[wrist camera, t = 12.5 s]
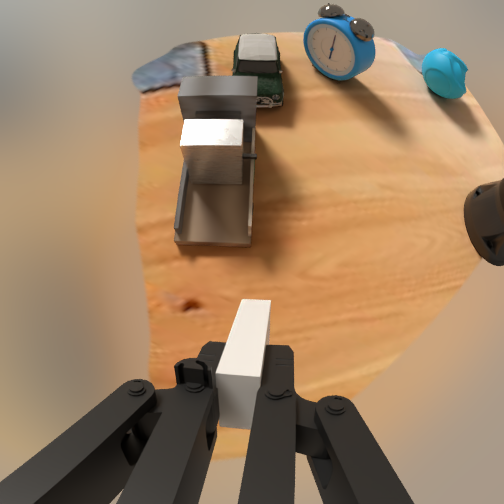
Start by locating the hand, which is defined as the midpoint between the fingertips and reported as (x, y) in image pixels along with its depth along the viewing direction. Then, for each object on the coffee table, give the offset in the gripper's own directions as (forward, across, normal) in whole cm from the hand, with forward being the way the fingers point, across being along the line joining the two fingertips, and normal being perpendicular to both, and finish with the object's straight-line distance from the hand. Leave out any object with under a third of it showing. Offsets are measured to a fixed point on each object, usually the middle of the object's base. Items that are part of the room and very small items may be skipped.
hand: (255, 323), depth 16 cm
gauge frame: (+29, -8, +7) cm, 31 cm away
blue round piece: (+50, +36, +31) cm, 69 cm away
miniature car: (+42, -4, +26) cm, 49 cm away
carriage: (+28, -7, +8) cm, 30 cm away
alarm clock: (+46, +11, +30) cm, 56 cm away
